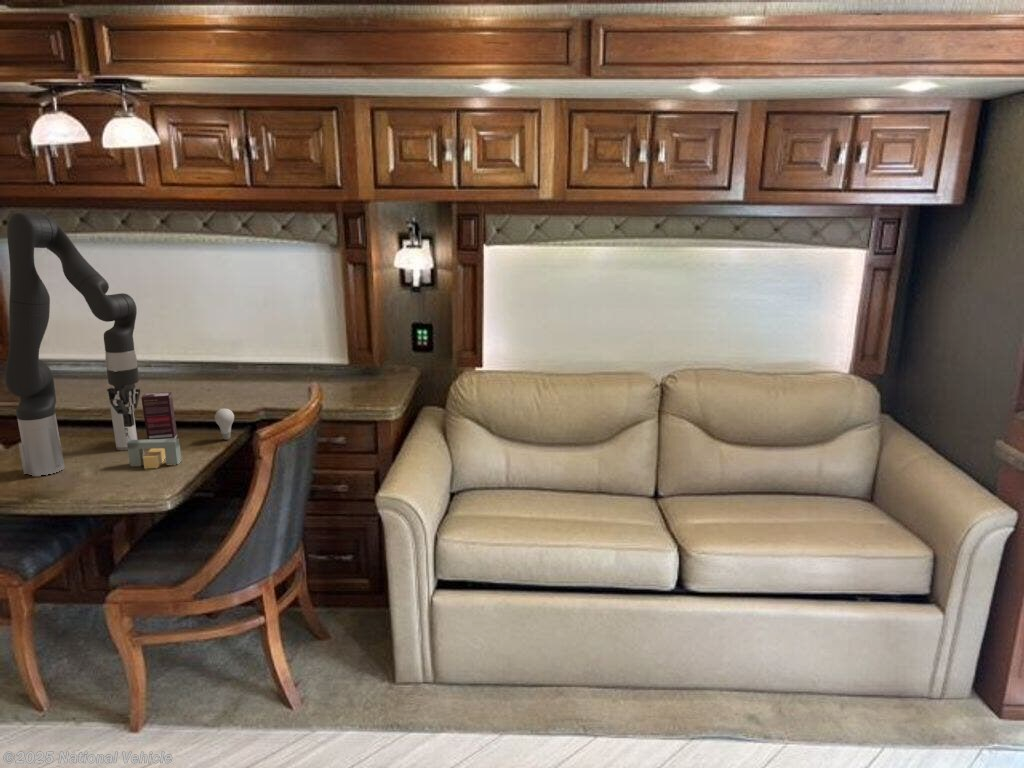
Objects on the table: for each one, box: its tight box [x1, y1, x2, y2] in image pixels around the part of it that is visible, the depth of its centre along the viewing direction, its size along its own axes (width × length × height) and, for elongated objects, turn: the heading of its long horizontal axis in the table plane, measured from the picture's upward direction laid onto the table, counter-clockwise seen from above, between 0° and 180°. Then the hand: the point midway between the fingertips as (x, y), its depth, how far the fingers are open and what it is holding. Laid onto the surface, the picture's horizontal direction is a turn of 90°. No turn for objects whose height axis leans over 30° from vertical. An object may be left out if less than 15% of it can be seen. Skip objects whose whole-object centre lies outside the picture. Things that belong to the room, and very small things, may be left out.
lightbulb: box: [214, 408, 235, 441], centre depth 229 cm, size 6×6×11 cm
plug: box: [143, 448, 166, 470], centre depth 211 cm, size 5×14×5 cm, turn 12°
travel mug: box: [106, 387, 138, 451], centre depth 220 cm, size 6×7×20 cm
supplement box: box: [140, 391, 178, 440], centre depth 229 cm, size 9×5×16 cm, turn 105°
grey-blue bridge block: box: [127, 438, 182, 467], centre depth 207 cm, size 14×3×8 cm, turn 94°
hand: (129, 425), depth 192 cm, fingers closed
